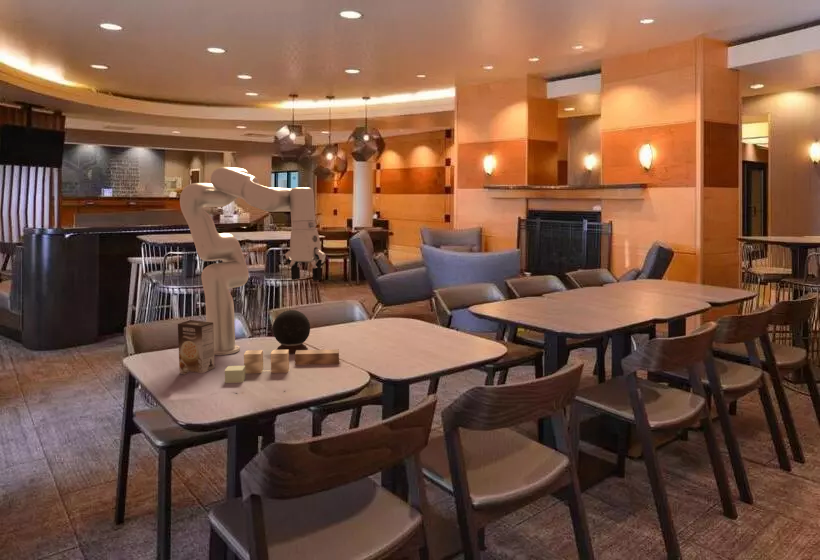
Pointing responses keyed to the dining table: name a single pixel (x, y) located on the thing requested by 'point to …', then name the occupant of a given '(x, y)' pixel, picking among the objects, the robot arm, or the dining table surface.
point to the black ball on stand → (291, 330)
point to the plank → (316, 357)
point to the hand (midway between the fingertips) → (306, 279)
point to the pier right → (279, 361)
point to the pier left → (253, 361)
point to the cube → (235, 374)
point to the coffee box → (196, 346)
